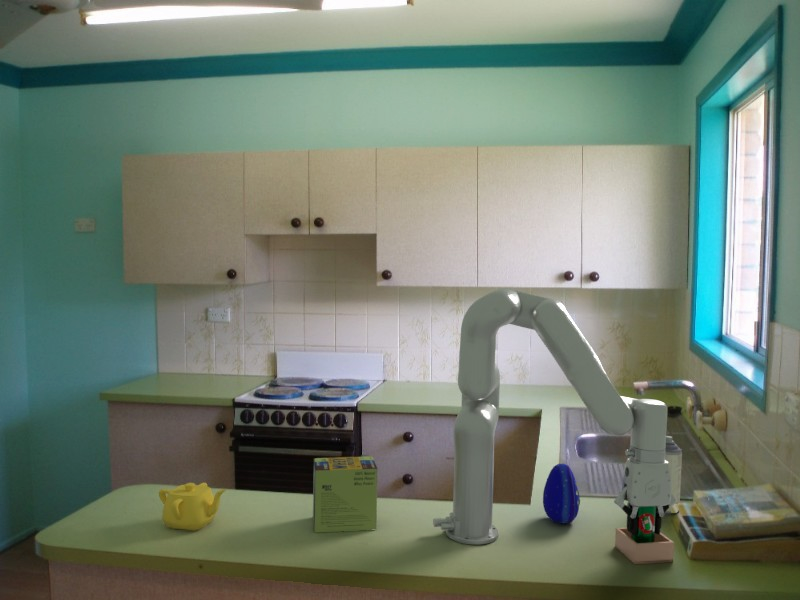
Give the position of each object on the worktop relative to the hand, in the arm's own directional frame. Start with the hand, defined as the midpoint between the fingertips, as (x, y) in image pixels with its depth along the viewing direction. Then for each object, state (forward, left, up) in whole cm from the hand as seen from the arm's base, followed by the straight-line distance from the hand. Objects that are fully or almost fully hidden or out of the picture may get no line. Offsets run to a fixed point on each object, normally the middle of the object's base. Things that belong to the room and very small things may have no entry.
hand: (643, 531), depth 156 cm
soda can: (0, 0, -3) cm, 3 cm away
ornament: (-11, +21, -6) cm, 24 cm away
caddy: (0, 0, -5) cm, 5 cm away
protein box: (-66, +27, -6) cm, 71 cm away
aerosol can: (+21, +25, -6) cm, 33 cm away
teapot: (-103, +31, -6) cm, 108 cm away
